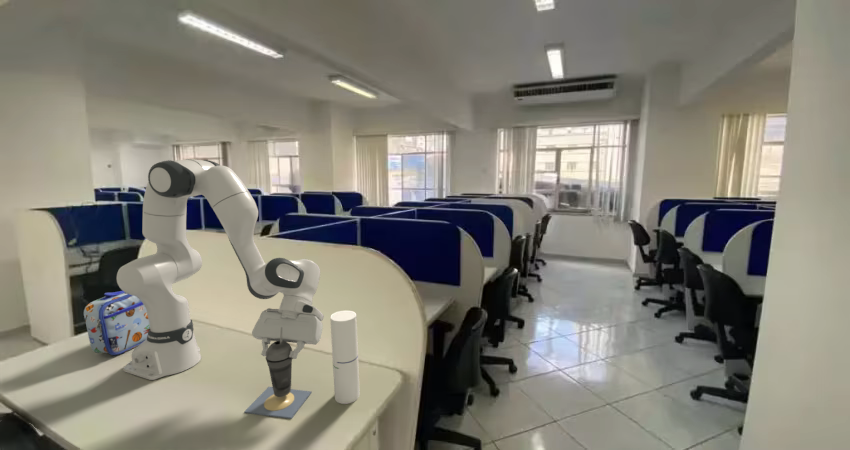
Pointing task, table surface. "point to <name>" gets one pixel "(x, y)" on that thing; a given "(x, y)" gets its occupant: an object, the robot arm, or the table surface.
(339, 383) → the cylindrical container
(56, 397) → the table surface
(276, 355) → the beverage cup
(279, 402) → the card
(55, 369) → the table surface
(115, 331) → the lunch box
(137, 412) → the table surface
